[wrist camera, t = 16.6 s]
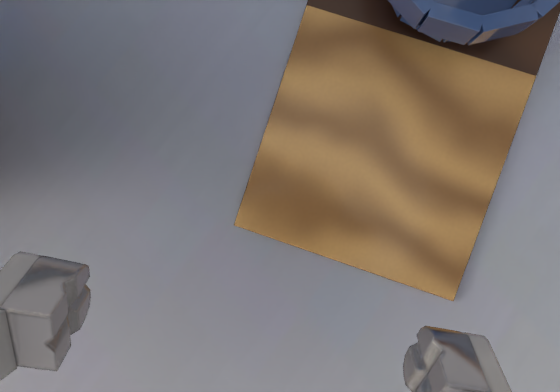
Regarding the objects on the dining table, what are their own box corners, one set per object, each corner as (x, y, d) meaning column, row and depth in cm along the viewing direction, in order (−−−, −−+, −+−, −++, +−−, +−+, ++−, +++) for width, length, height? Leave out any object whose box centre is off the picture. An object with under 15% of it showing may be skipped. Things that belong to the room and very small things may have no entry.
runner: (451, 299, 33) (453, 301, 33) (234, 224, 34) (233, 225, 34) (533, 77, 32) (536, 75, 32) (306, 6, 33) (306, 4, 33)
